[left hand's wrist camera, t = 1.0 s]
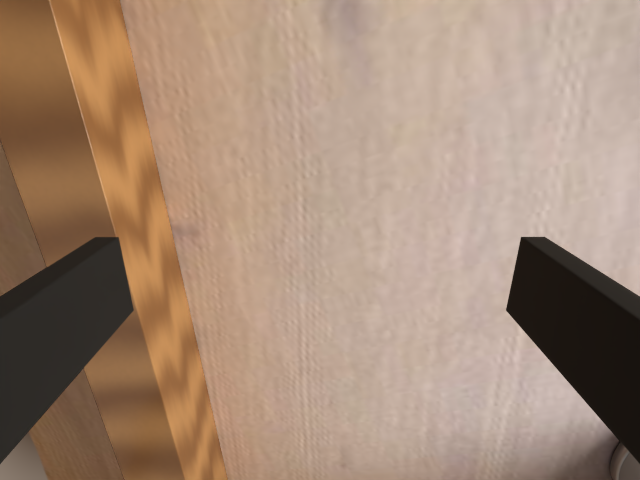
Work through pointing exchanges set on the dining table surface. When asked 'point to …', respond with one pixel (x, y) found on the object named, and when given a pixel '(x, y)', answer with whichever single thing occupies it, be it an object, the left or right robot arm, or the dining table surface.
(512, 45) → the dining table surface
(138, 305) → the beam
